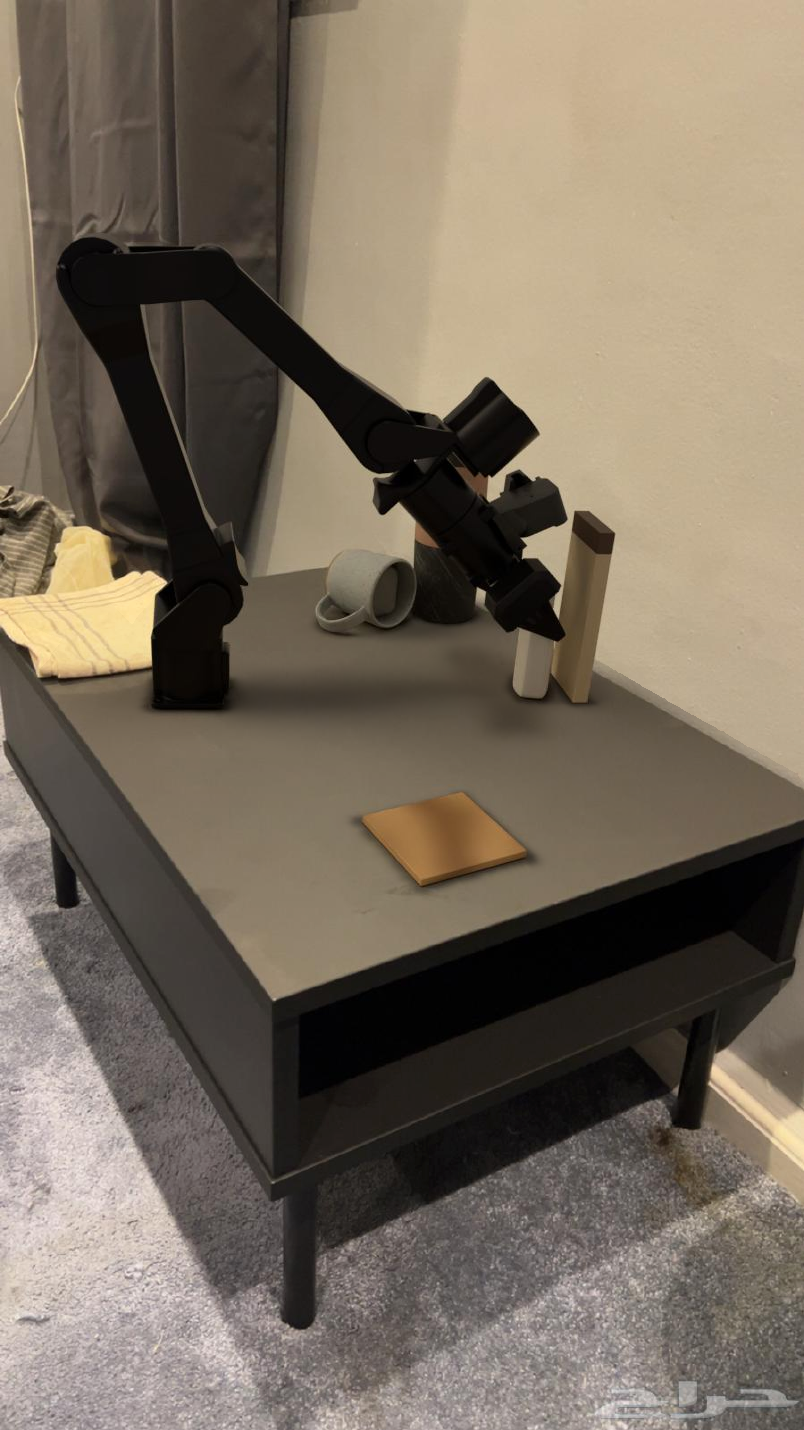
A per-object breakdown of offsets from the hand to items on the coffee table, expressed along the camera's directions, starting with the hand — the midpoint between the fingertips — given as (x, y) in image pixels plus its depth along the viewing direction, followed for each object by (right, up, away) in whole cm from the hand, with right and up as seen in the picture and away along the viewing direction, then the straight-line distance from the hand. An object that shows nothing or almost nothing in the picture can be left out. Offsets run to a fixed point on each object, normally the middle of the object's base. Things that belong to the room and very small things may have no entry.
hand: (551, 626), depth 101 cm
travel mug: (-10, +3, +20) cm, 22 cm away
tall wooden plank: (+2, -6, +3) cm, 7 cm away
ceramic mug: (-19, +2, +16) cm, 25 cm away
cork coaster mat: (-11, -18, -23) cm, 31 cm away
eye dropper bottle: (-2, -6, +3) cm, 7 cm away
